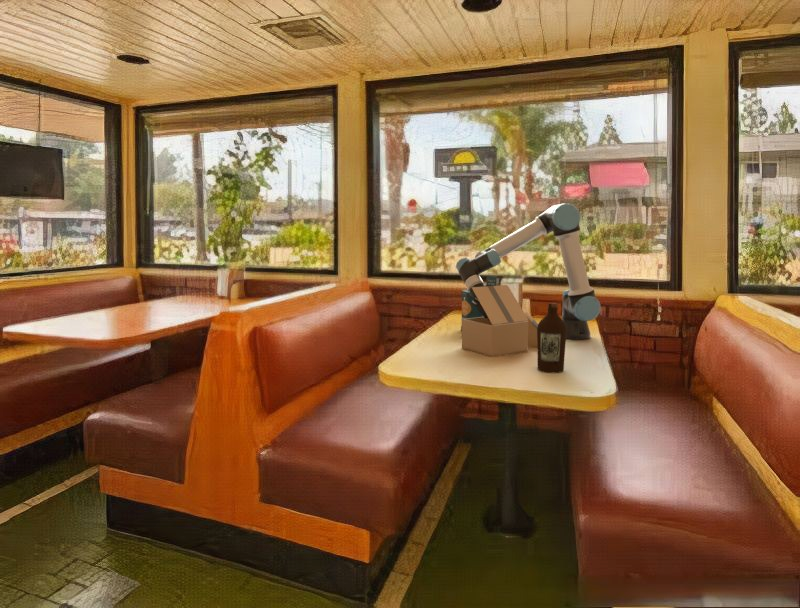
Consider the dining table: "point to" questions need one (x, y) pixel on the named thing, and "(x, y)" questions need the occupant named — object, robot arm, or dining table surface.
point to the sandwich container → (532, 331)
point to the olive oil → (551, 341)
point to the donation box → (467, 306)
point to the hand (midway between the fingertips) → (500, 329)
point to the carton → (494, 337)
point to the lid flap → (500, 304)
